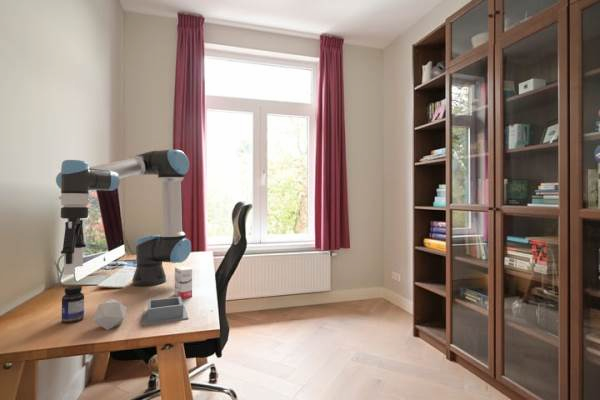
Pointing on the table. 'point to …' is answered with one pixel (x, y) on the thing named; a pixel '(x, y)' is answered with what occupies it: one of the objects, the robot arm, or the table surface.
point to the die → (110, 314)
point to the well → (164, 311)
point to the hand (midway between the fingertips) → (73, 270)
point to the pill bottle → (72, 304)
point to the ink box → (183, 282)
